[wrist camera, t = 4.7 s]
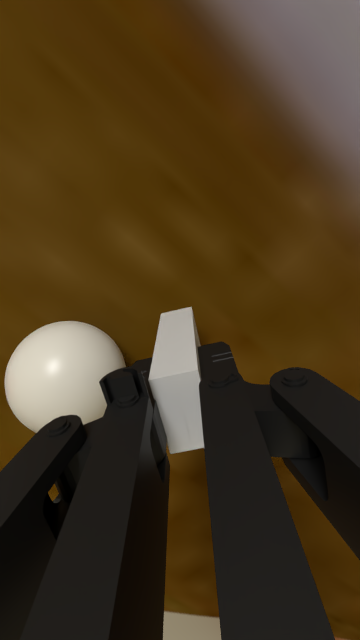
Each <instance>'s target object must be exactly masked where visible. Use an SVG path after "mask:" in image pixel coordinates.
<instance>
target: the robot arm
mask: <svg viewBox="0 0 360 640" xmlns="http://www.w3.org/2000/svg"><path fill="white" fill-rule="evenodd" d="M99 384H100V386H101V389H102V392H103V395H104V398H105V401H106V403H107V407H106V410H105V413H104V415H103V417H101V418H99V419H97V420H94V421H92V422H89V423H87V424H84V425H83V423H82V420H81V418H80V417H79V416H77V415H66V416H60V417H59V418H58V417H57V418H55V419H53V420H52V421H51V422H49V423H47V424H46V425H45V426H43V427H42V428H41V429H40V430H39V431H38V432H37V433H36V434H35V435H34V436H33V437H32V438H31V440H30V441H29V442H28V443H27V444H26V445H25V446H24V447H23V448H22V449H21V450H20V451H19V452H18V453H17V455H16V456H15V457H14V458H13V459H12V460H11V461H10V462H9V463H8V464H7V465H6V466H5V467H4V468H3V470H2V471H1V472H0V640H163V617H164V594H165V570H166V546H167V522H168V498H169V474H170V464H169V460H168V457H167V453H166V443H167V444H168V448H169V451H170V454H173V453H178V452H183V451H189V450H194V449H199V448H204V451H205V462H206V473H207V484H208V495H209V506H210V517H211V529H212V540H213V551H214V562H215V573H216V584H217V595H218V606H219V617H220V628H221V639H222V640H335V638H334V635H333V633H332V630H331V627H330V624H329V621H328V618H327V616H326V613H325V610H324V607H323V604H322V601H321V599H320V596H319V593H318V590H317V587H316V584H315V582H314V579H313V576H312V573H311V570H310V567H309V565H308V562H307V559H306V556H305V553H304V550H303V548H302V545H301V542H300V539H299V536H298V533H297V531H296V528H295V525H294V522H293V519H292V516H291V514H290V511H289V508H288V505H287V502H286V499H285V497H284V494H283V491H282V488H281V485H280V482H279V480H278V477H277V474H276V471H275V468H274V466H273V463H272V460H271V457H282V459H283V461H284V463H285V465H286V466H287V468H288V469H289V470H290V471H291V473H292V474H293V475H294V477H295V478H296V479H297V480H298V482H299V483H300V484H301V486H302V487H303V488H304V489H305V491H306V492H307V493H308V495H309V496H310V497H311V498H312V500H313V501H314V502H315V503H316V505H317V506H318V507H319V509H320V510H321V511H322V512H323V514H324V515H325V516H326V518H327V519H328V520H329V521H330V523H331V524H332V525H333V526H334V528H335V529H336V530H337V532H338V533H339V534H340V535H341V537H342V538H343V539H344V541H345V542H346V543H347V544H348V546H349V547H350V548H351V550H352V551H353V552H354V553H355V555H356V556H357V557H358V558H359V560H360V401H358V400H357V399H355V398H354V397H352V396H351V395H349V394H348V393H346V392H345V391H343V390H342V389H340V388H339V387H337V386H336V385H334V384H333V383H331V382H330V381H328V380H327V379H325V378H324V377H322V376H321V375H319V374H318V373H316V372H314V371H312V370H310V369H305V368H299V367H295V368H294V367H293V368H288V369H284V370H281V371H279V372H277V373H275V374H274V375H273V376H272V377H271V378H270V385H259V384H251V383H248V382H246V381H244V380H243V378H242V376H241V375H240V374H239V373H238V370H237V367H236V364H235V361H234V358H233V355H232V353H231V350H230V347H229V345H227V344H226V343H224V342H218V343H213V344H208V345H204V346H201V345H200V341H199V337H198V332H197V328H196V324H195V319H194V315H193V311H192V307H188V308H184V309H179V310H175V311H170V312H166V313H162V314H161V317H160V322H159V328H158V333H157V338H156V343H155V348H154V354H153V357H152V358H148V359H143V360H138V361H136V362H135V363H134V364H133V365H132V366H131V367H123V368H120V369H117V370H114V371H112V372H110V373H108V374H107V375H105V376H104V377H103V378H102V379H101V380H100V381H99ZM270 456H271V457H270ZM54 483H55V485H56V488H57V490H58V492H59V494H58V496H57V497H56V499H55V500H54V501H52V500H51V499H50V497H49V495H48V491H49V490H50V489H51V487H52V486H53V484H54Z"/></svg>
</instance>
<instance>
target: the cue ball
mask: <svg viewBox="0 0 360 640" xmlns="http://www.w3.org/2000/svg"><path fill="white" fill-rule="evenodd" d="M123 367H126V365H125V361H124V358H123V355H122V353H121V351H120V349H119V347H118V346H117V345H116V343H115V342H114V341H113V340H112V339H111V338H110V337H109V336H108V335H107V334H106V333H105V332H103V331H102V330H100V329H98V328H97V327H94V326H92V325H90V324H86V323H83V322H77V321H61V322H55V323H51V324H48V325H45V326H43V327H41V328H39V329H37V330H36V331H34V332H32V333H31V334H29V335H28V336H27V337H26V338H25V339H24V340H23V341H22V342H21V343H20V344H19V345H18V346H17V348H16V349H15V351H14V352H13V354H12V356H11V358H10V360H9V362H8V365H7V368H6V374H5V392H6V397H7V400H8V403H9V406H10V408H11V409H12V411H13V413H14V414H15V416H16V417H17V418H18V420H19V421H20V422H21V423H22V424H24V425H25V426H26V427H28V428H29V429H30V430H32V431H34V432H36V433H37V432H38V431H39V430H40V429H41V428H42V427H43V426H45V425H46V424H47V423H49V422H51V421H52V420H53V419H55V418H57V417H58V418H59V417H60V416H66V415H77V416H79V417H80V418H81V420H82V423H83V425H84V424H87V423H89V422H92V421H94V420H97V419H99V418H101V417H103V415H104V413H105V410H106V407H107V403H106V401H105V398H104V395H103V392H102V389H101V386H100V384H99V381H100V380H101V379H102V378H103V377H104V376H105V375H107V374H108V373H110V372H112V371H114V370H117V369H120V368H123Z"/></svg>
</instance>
